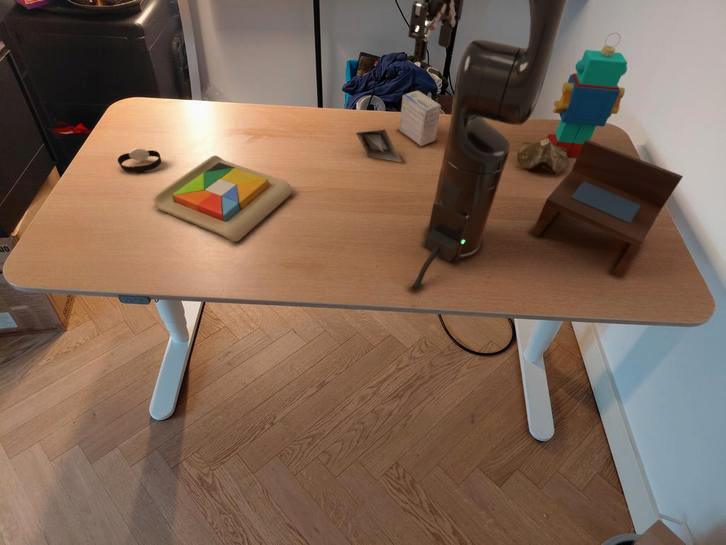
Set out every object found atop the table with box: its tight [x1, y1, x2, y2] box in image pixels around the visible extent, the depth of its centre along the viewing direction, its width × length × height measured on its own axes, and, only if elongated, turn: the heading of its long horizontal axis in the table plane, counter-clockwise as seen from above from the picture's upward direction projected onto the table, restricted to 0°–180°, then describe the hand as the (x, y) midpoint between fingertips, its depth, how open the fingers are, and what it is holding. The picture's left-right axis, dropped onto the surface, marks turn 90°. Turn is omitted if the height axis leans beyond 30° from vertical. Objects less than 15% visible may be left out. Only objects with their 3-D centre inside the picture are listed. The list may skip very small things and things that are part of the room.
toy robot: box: [546, 32, 628, 158], centre depth 96 cm, size 12×6×25 cm, turn 84°
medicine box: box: [398, 90, 442, 147], centre depth 103 cm, size 8×4×9 cm, turn 35°
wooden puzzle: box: [153, 155, 292, 242], centre depth 87 cm, size 18×19×4 cm
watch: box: [117, 147, 162, 174], centre depth 92 cm, size 8×5×4 cm, turn 108°
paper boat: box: [355, 129, 403, 163], centre depth 98 cm, size 12×6×9 cm
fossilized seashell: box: [516, 138, 570, 175], centre depth 99 cm, size 8×7×10 cm
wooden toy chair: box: [532, 139, 684, 277], centre depth 81 cm, size 12×16×14 cm
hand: (431, 52), depth 93 cm, fingers open, 8 cm apart
